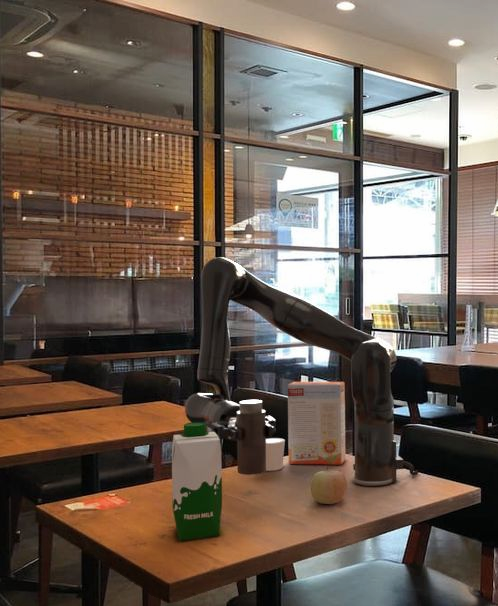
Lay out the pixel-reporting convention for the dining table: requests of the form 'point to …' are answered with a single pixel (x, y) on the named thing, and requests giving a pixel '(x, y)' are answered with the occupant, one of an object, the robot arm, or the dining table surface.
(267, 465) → the white cup
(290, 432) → the cracker box
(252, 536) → the dining table surface
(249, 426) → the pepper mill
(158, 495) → the dining table surface
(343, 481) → the fruit
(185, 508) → the milk carton
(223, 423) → the robot arm
